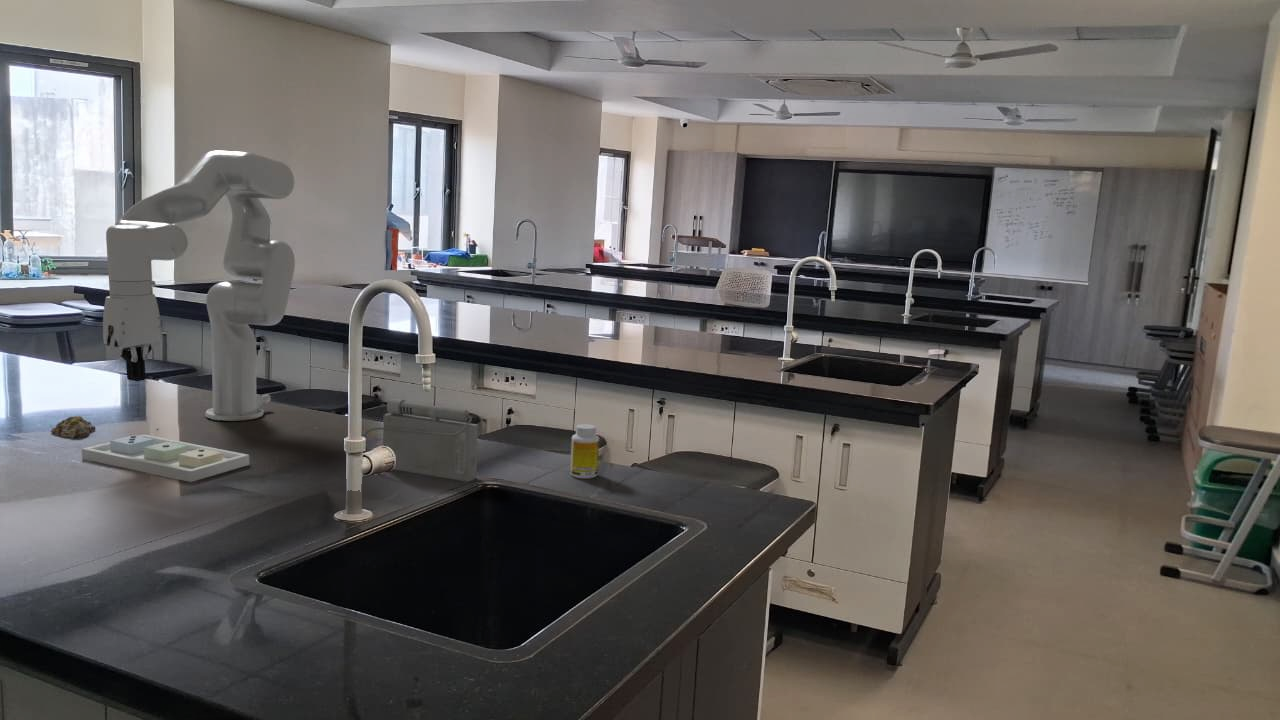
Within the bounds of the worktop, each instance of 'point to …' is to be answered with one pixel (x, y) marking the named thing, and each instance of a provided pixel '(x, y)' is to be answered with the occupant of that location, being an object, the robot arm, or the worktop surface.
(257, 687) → the worktop surface
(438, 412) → the geiger counter
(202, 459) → the key two dots
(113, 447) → the key three dots
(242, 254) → the robot arm
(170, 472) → the key panel
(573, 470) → the supplement bottle
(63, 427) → the mineral rock
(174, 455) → the key one dot
